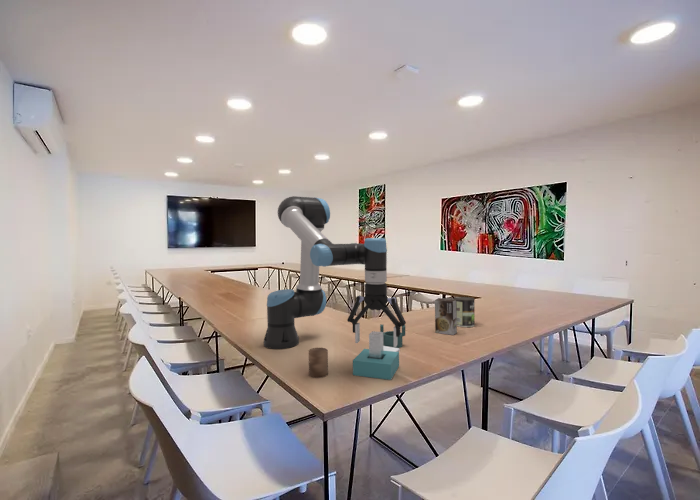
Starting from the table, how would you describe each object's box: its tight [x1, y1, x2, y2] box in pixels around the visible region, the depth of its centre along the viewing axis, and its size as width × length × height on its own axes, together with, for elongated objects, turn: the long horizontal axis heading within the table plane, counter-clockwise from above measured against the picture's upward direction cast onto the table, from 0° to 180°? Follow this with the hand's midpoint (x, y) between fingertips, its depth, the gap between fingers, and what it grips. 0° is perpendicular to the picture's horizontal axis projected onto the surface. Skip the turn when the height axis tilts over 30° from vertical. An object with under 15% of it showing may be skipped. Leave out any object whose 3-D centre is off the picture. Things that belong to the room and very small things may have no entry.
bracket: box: [379, 324, 406, 349], centre depth 148 cm, size 9×9×9 cm
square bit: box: [368, 331, 384, 359], centre depth 119 cm, size 4×4×12 cm
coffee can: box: [453, 296, 476, 328], centre depth 181 cm, size 10×10×14 cm
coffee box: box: [434, 297, 458, 336], centre depth 166 cm, size 9×6×16 cm
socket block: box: [352, 348, 400, 381], centre depth 119 cm, size 13×13×5 cm
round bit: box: [308, 347, 329, 379], centre depth 117 cm, size 6×6×8 cm
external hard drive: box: [383, 346, 401, 353], centre depth 137 cm, size 2×8×12 cm
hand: (376, 344), depth 119 cm, fingers open, 13 cm apart
